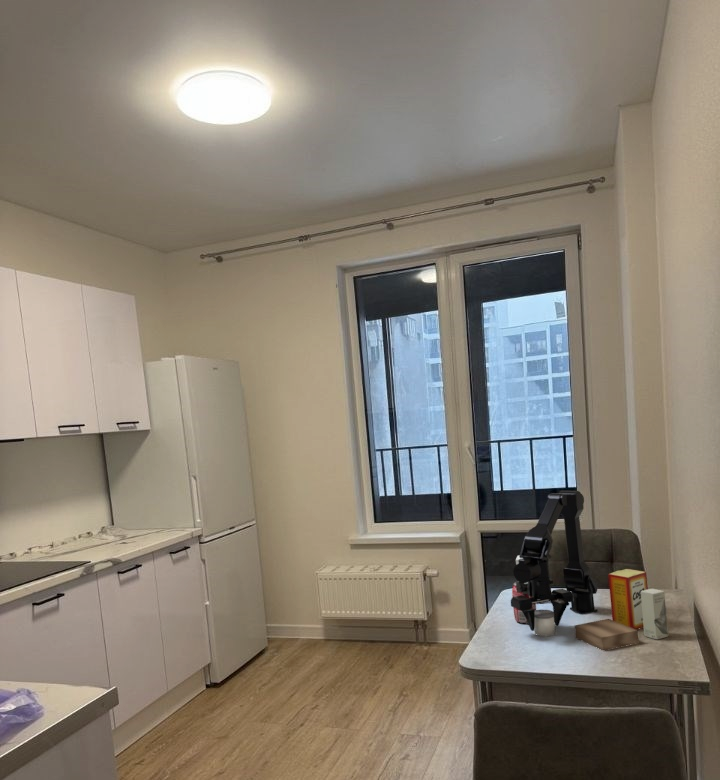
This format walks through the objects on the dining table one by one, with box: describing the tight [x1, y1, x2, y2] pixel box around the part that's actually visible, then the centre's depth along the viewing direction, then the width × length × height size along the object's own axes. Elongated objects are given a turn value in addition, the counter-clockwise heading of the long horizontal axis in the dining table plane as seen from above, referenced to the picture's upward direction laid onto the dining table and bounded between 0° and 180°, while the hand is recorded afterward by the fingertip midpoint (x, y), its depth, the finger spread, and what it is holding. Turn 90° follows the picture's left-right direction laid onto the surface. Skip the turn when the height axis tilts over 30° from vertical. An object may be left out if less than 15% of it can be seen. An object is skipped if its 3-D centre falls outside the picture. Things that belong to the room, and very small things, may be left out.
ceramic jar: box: [533, 609, 556, 637], centre depth 191 cm, size 6×6×6 cm
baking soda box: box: [608, 568, 649, 630], centre depth 192 cm, size 10×6×16 cm
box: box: [641, 588, 669, 640], centre depth 182 cm, size 5×4×13 cm
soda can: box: [511, 581, 537, 625], centre depth 203 cm, size 7×7×12 cm
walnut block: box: [574, 618, 640, 651], centre depth 181 cm, size 12×12×4 cm
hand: (544, 628), depth 191 cm, fingers open, 8 cm apart
